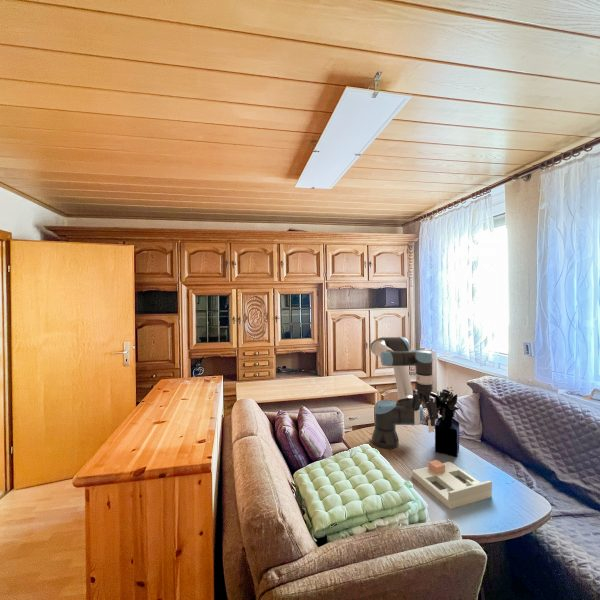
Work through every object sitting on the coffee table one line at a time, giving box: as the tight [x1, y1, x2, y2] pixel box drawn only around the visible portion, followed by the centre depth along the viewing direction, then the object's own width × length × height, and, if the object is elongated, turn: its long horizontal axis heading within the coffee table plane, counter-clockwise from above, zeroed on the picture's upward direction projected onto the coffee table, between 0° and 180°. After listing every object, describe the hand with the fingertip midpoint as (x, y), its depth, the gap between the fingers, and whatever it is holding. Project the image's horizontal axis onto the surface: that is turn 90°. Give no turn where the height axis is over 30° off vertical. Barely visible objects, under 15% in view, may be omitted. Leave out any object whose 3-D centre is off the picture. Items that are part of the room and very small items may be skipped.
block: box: [427, 459, 445, 474], centre depth 145 cm, size 5×5×3 cm
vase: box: [431, 386, 460, 458], centre depth 168 cm, size 14×12×35 cm
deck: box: [411, 461, 493, 510], centre depth 138 cm, size 23×22×6 cm
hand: (424, 427), depth 153 cm, fingers open, 9 cm apart
